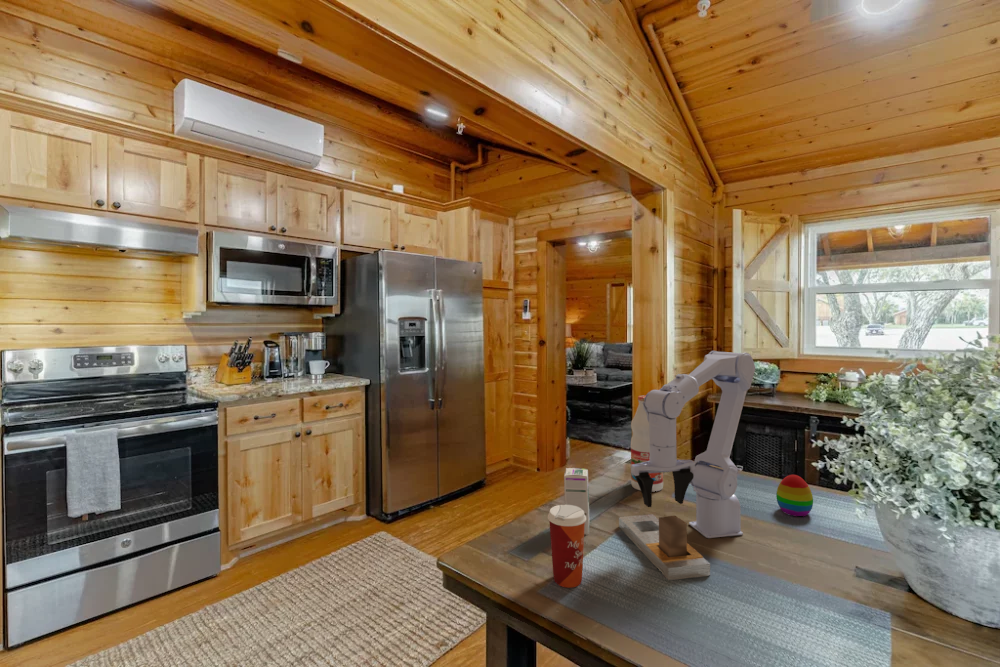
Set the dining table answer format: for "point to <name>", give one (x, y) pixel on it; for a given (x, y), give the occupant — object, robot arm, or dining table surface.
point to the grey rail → (649, 546)
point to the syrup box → (577, 491)
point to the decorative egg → (794, 496)
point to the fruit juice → (642, 445)
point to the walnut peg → (673, 536)
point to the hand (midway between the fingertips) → (663, 503)
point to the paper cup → (567, 544)
